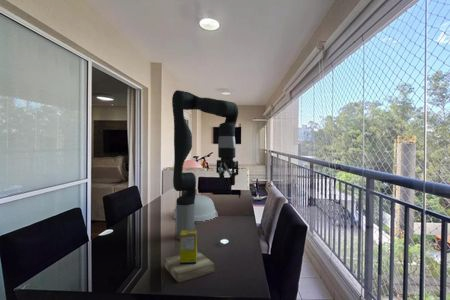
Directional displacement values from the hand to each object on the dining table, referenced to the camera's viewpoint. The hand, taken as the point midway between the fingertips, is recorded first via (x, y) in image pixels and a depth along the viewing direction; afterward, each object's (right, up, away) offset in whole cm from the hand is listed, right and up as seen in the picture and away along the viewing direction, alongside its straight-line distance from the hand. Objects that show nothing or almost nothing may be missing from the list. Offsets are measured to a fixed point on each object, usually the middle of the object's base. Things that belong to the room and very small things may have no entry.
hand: (226, 184), depth 108 cm
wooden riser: (-14, -30, -15) cm, 36 cm away
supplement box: (-14, -27, -15) cm, 34 cm away
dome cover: (-21, -31, +62) cm, 72 cm away
